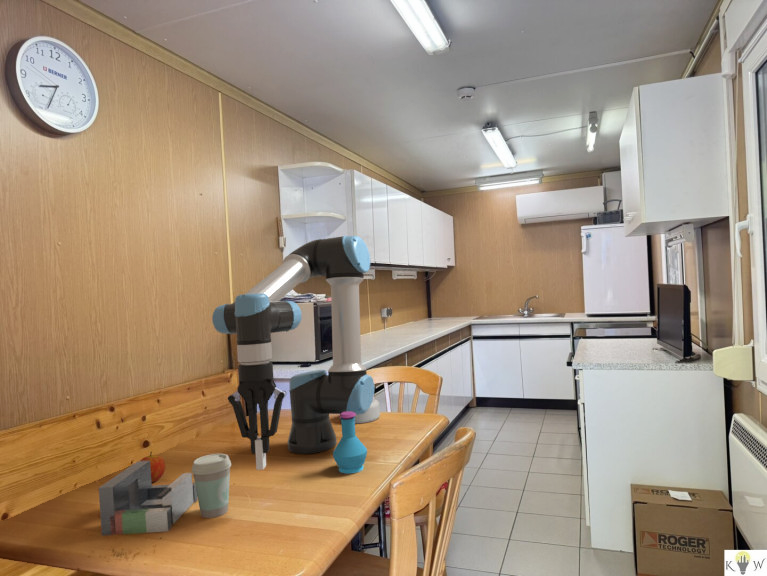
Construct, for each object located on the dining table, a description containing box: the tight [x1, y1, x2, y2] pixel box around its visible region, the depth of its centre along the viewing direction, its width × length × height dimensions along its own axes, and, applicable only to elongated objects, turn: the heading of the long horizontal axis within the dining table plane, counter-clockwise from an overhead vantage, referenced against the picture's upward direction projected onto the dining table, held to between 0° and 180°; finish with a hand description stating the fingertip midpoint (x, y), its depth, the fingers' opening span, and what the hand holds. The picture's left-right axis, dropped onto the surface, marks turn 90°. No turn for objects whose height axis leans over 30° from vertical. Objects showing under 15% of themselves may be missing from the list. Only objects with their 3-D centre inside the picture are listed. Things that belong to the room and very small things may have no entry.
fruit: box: [139, 451, 166, 484], centre depth 134 cm, size 7×7×8 cm
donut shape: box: [339, 398, 381, 425], centre depth 185 cm, size 15×15×7 cm
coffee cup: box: [190, 453, 232, 519], centre depth 112 cm, size 9×9×12 cm
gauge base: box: [98, 460, 198, 536], centre depth 112 cm, size 14×16×10 cm
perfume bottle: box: [332, 411, 368, 474], centre depth 133 cm, size 9×9×15 cm
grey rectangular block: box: [140, 472, 195, 525], centre depth 110 cm, size 9×14×7 cm, turn 179°
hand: (261, 467), depth 111 cm, fingers closed
